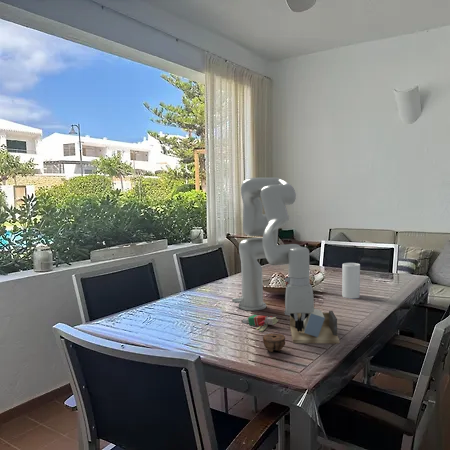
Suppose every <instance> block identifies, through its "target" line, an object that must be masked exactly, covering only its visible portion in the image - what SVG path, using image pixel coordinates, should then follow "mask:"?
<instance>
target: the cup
mask: <svg viewBox="0 0 450 450" xmlns="http://www.w3.org/2000/svg"><path fill="white" fill-rule="evenodd" d="M341 269H342V274H341V276H342V278H341V279H342V280H341V281H342V283H341V286H342V287H341V292H342V294H341V295H342V296H341V297H343V298H344V299H350V300H351V299H353V300H354V299H359V298H360V297H361V296H360V295H361V292H360V291H361V264H360V263H358V262H357V263H356V262H344V263H342V268H341Z"/></svg>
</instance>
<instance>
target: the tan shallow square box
mask: <svg viewBox="0 0 450 450" xmlns="http://www.w3.org/2000/svg"><path fill="white" fill-rule="evenodd" d="M322 313H323V315H324V318H325V319H324V322H323V325H322V327H321V330H320V333H319V336H318V337H315V336H312V335H309V334H306V333H304V330H303V329H302V332H301V331H299V332H298V331H297V328H295V319H294V318H293V317H291V316H289V329H290V334H291V338H292V339H291V340H292V343H293V344H336V345H337V344H340V338H339V336H338V318H337V316H336V314H335V313H334V311H333V310H329V311H328V312H327V311H325V312H322ZM297 316H298V318H299V319H300V317H301V313H297Z"/></svg>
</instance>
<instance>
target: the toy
mask: <svg viewBox="0 0 450 450" xmlns="http://www.w3.org/2000/svg"><path fill="white" fill-rule="evenodd" d="M279 321H280V320H279V319H277V316H272V315H270V316H268V315H267V316H266V315H257V314H253V315H251V316H249V317H248V318H243V319H241V323H242V324H248V325H249V326H258V327H257V328H255V330H256V331H259V333H260V332H261V333H262V332H264V331H265V330H266V329H267V328H268V325H269V326H270V325H271V326H274V325H276V324H277V323H278V322H279Z"/></svg>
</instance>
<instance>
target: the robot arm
mask: <svg viewBox="0 0 450 450" xmlns="http://www.w3.org/2000/svg"><path fill="white" fill-rule="evenodd" d="M240 195H241V199H242V204H243V210H242V214H243V215H242V230H243V233H244V234H245V235H246V236H249V237H250V238H244V239H242V240H241V241H240V242H239V244H238V253H239V258H240V268H241V270H240V271H241V275H240V276H241V297H232V298H231V299H232V301H231V302H232V303H234V304H238V308H239V309H240V310H243V311H250V312H251V311H262V310H265V309H266V308H267V303H265V302H264V296H263V295H264V293H263V292H264V290H263V289H264V288H263V286H264V285H263V268H262V265H261V264H260V263H259V262H258V260H259V259H266V261H267V262H268V264H269V265H271V266H283V265H288V271H287V272H288V277H285V278H284V283H285V282H286V283H287V284H286V287H285V293H284V294H285V295H284V296H285V297H284V299H285V300H284V305H285V309H284V315H285V316H289V317H290V316H291V317H293V318H294V319H295V328H297V331H298V332H299V331H301V332H302V329H304V320H305V319H306V318H307V317H308V315H309V313H311V312H314V307H315V303H314V301H315V300H314V299H315V298H314V290H313V286H312V284H311V282H310V281H311V280H310V250H309V248H307V247H305V246H301V245H299V244H298V243H289V244H278V239H279V236H278V235H279V228H281V227H283V226H284V225H286V224H287V223H288V222H289V221H290V218H289V217H290V216H289V213H288V210H287V207H286V206H289V205H293V204H294V203H295V202H296V200H297V197H296V196H297V193H296V190H295V189H294V186H293V185H292V184H290V183H289V182H288V181H285V180H284V179H282V178H279V177H248V178H246V179H244V180H243V181H242V183H241V185H240ZM263 210H264V213H263ZM255 236H259V237H255ZM260 236H262V237H260ZM251 237H252V238H251ZM297 313H301V317H300V319H299V318H298V316H297Z"/></svg>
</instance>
